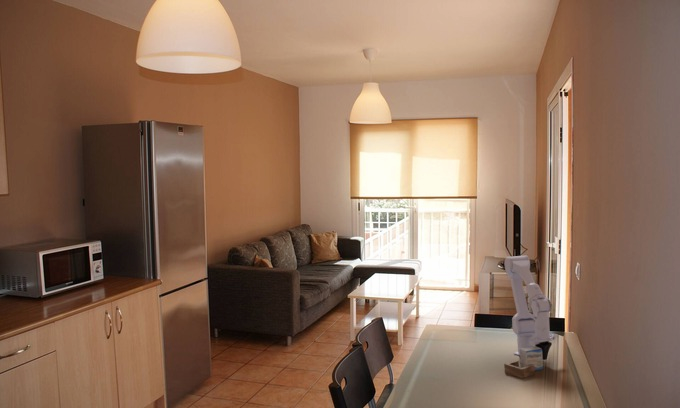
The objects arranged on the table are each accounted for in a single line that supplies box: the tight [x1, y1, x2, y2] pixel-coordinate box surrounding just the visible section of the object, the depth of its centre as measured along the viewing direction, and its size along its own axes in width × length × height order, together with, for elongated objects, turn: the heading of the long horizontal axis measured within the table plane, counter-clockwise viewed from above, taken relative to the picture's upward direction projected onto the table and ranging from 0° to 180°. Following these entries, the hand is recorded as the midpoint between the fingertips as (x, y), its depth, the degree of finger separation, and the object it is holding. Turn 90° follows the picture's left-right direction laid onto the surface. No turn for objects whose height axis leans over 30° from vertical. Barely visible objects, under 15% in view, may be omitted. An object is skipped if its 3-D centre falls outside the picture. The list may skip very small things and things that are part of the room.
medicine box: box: [519, 346, 544, 372], centre depth 223 cm, size 8×4×9 cm, turn 105°
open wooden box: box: [503, 360, 535, 379], centre depth 219 cm, size 7×9×4 cm
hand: (543, 359), depth 227 cm, fingers closed
